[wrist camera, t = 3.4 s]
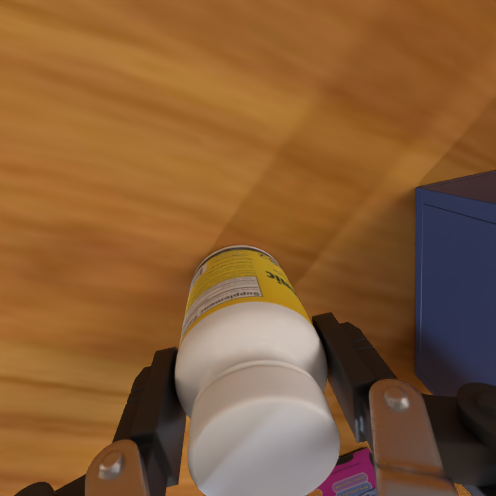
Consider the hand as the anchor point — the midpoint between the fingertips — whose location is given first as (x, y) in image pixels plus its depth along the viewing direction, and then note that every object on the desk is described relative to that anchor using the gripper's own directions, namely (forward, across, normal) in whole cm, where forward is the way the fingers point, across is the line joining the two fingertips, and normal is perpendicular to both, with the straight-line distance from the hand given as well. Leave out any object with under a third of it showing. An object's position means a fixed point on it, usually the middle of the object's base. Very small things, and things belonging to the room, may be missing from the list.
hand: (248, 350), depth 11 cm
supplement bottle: (+6, 0, 0) cm, 6 cm away
